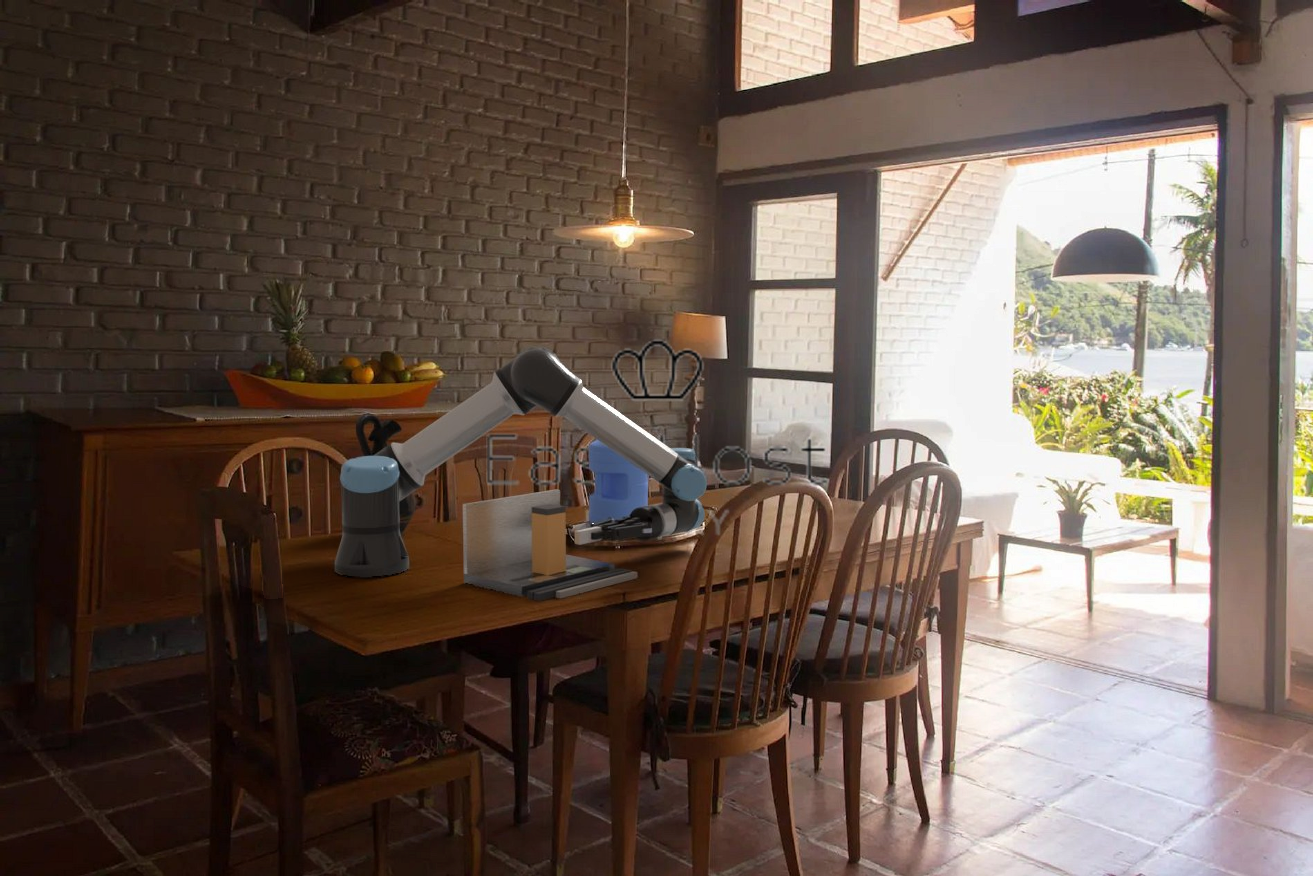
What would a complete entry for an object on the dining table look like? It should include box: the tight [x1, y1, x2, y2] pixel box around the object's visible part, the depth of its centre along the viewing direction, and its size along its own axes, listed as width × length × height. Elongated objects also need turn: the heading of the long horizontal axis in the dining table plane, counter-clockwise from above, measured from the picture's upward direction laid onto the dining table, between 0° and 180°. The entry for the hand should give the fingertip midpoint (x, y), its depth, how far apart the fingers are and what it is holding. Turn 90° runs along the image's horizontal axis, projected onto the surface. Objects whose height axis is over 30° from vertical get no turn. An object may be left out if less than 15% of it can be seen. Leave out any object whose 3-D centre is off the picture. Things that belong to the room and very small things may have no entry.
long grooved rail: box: [526, 567, 638, 602], centre depth 208 cm, size 26×5×1 cm, turn 140°
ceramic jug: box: [355, 413, 416, 537], centre depth 259 cm, size 17×15×30 cm
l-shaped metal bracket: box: [462, 488, 616, 598], centre depth 216 cm, size 26×17×16 cm, turn 140°
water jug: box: [588, 439, 649, 524], centre depth 277 cm, size 16×16×28 cm
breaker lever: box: [532, 504, 567, 575], centre depth 212 cm, size 5×4×13 cm
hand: (577, 537), depth 218 cm, fingers closed
